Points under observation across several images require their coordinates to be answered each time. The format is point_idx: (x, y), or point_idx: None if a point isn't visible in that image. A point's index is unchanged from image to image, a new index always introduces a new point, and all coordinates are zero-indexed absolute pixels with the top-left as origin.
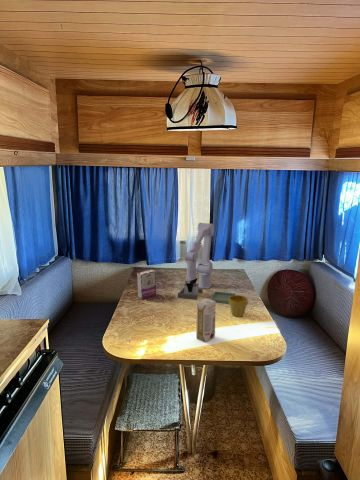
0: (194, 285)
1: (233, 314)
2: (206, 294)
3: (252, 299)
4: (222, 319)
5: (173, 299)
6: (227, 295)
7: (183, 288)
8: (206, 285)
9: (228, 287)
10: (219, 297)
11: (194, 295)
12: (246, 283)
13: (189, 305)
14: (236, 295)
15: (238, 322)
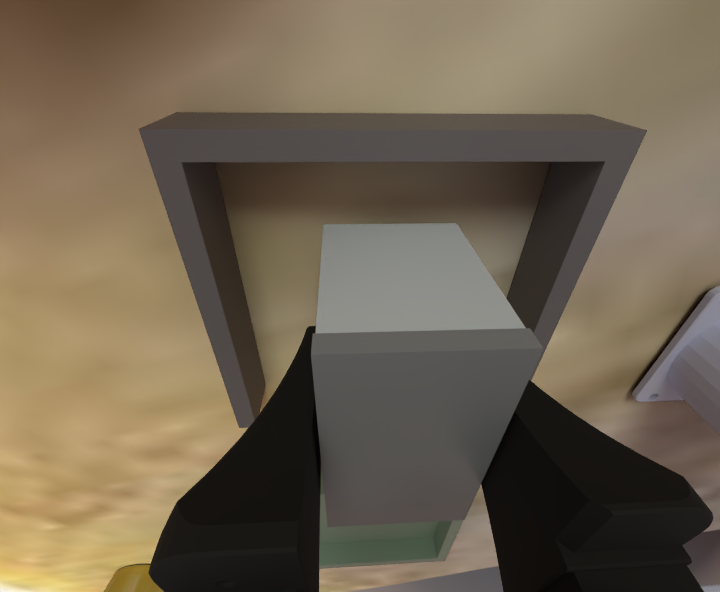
0: (343, 507)
1: (108, 584)
2: None
3: (410, 573)
4: (15, 556)
5: (14, 59)
6: None
7: (542, 150)
8: (689, 401)
9: None
10: None
11: (241, 403)
12: (711, 528)
13: (29, 368)
14: None
15: (56, 588)
